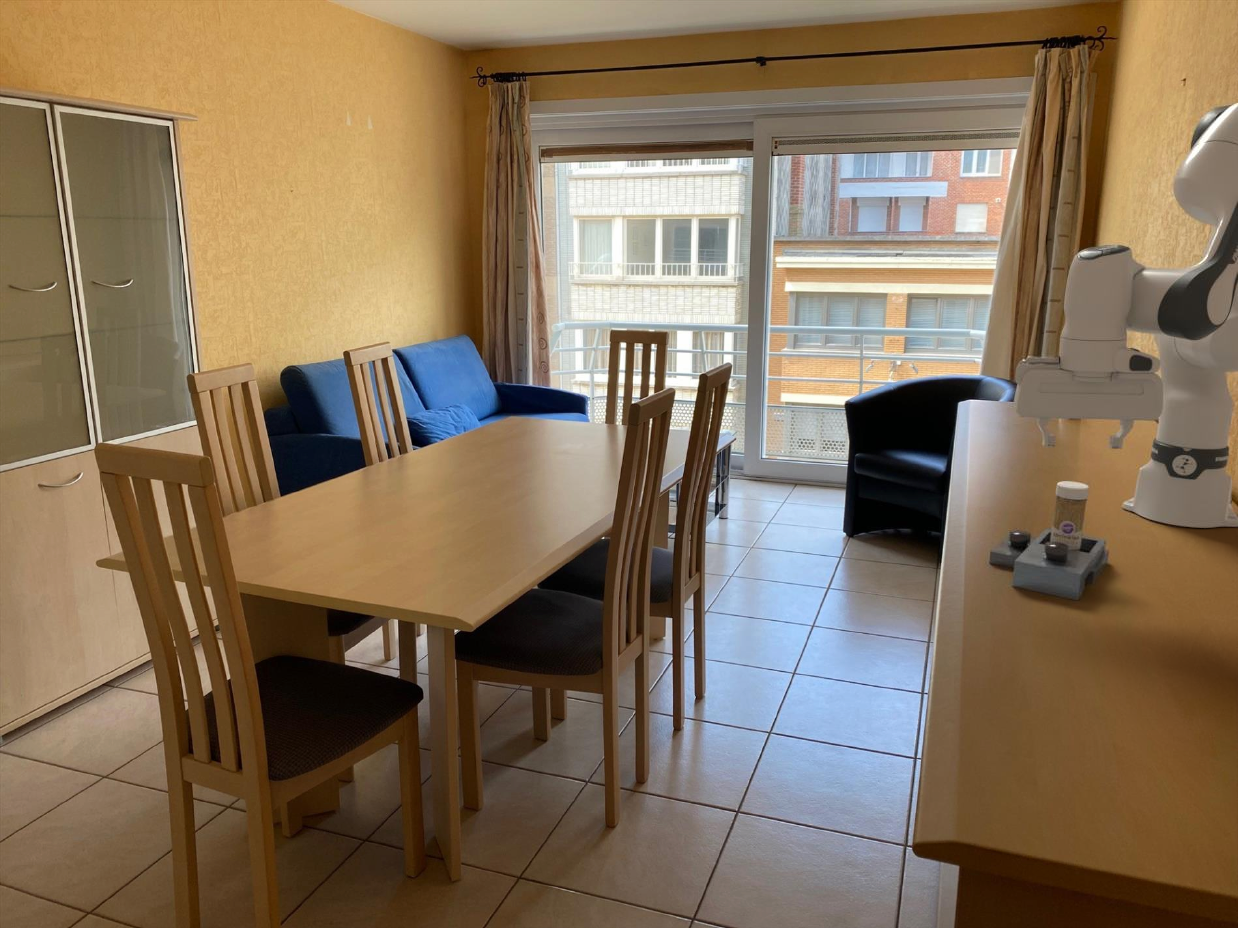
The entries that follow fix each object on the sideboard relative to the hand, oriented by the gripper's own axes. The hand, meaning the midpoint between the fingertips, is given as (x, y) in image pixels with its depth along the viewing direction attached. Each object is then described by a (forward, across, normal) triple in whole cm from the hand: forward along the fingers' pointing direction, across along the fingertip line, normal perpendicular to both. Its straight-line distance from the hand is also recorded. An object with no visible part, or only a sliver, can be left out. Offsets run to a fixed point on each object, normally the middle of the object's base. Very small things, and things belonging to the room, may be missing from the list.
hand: (1081, 447), depth 139 cm
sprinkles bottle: (+20, -1, 0) cm, 20 cm away
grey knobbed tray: (+19, -3, +1) cm, 20 cm away
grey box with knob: (+19, -2, -4) cm, 20 cm away
